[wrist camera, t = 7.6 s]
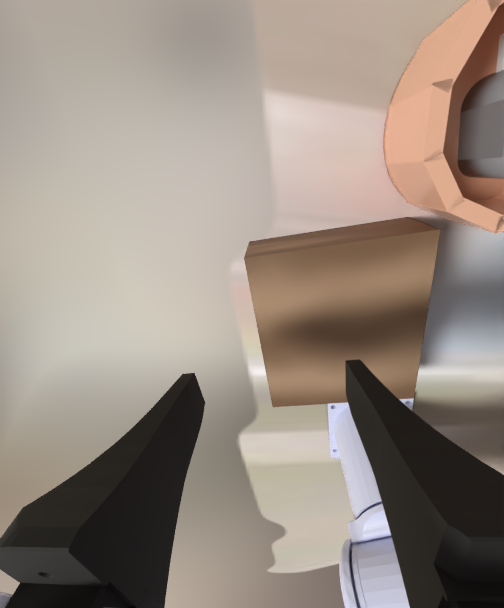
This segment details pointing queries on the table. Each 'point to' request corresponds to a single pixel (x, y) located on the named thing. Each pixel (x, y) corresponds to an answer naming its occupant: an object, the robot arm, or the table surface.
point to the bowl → (445, 119)
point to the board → (342, 307)
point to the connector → (483, 125)
